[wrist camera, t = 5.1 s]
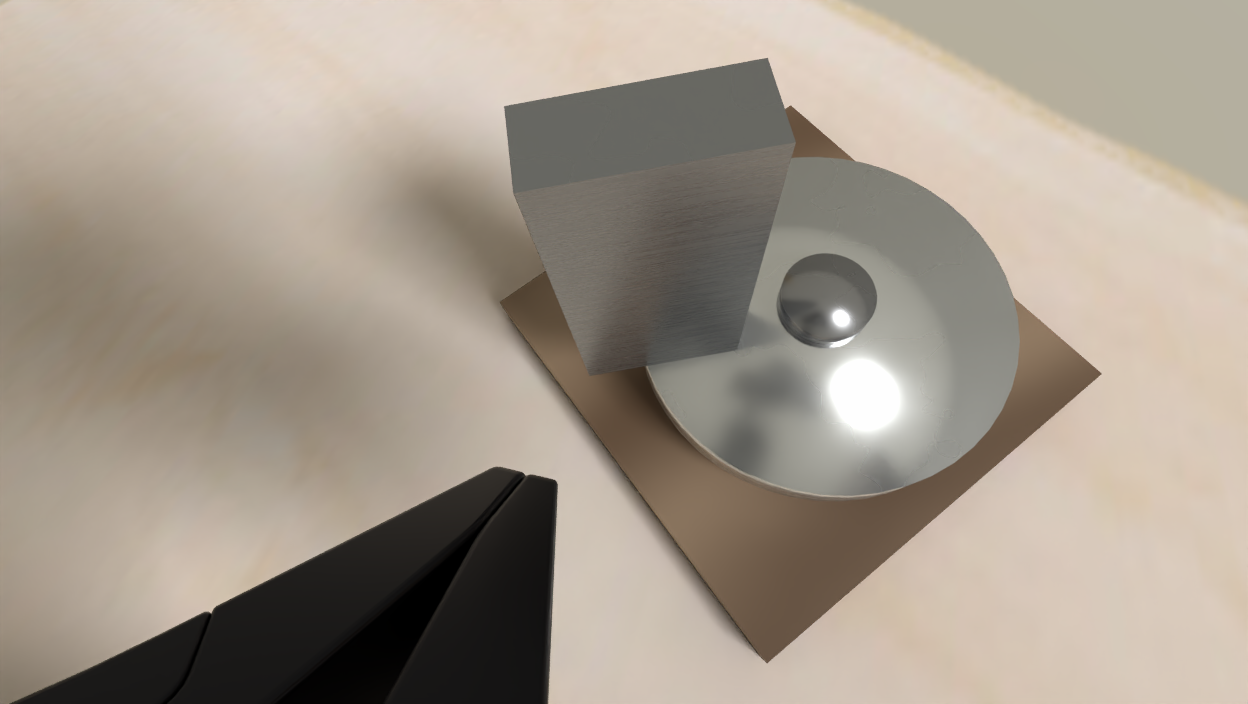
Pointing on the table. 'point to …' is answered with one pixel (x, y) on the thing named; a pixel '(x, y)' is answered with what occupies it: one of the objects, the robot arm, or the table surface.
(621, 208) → the disc and block
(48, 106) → the table surface
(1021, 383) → the walnut board
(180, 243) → the table surface
